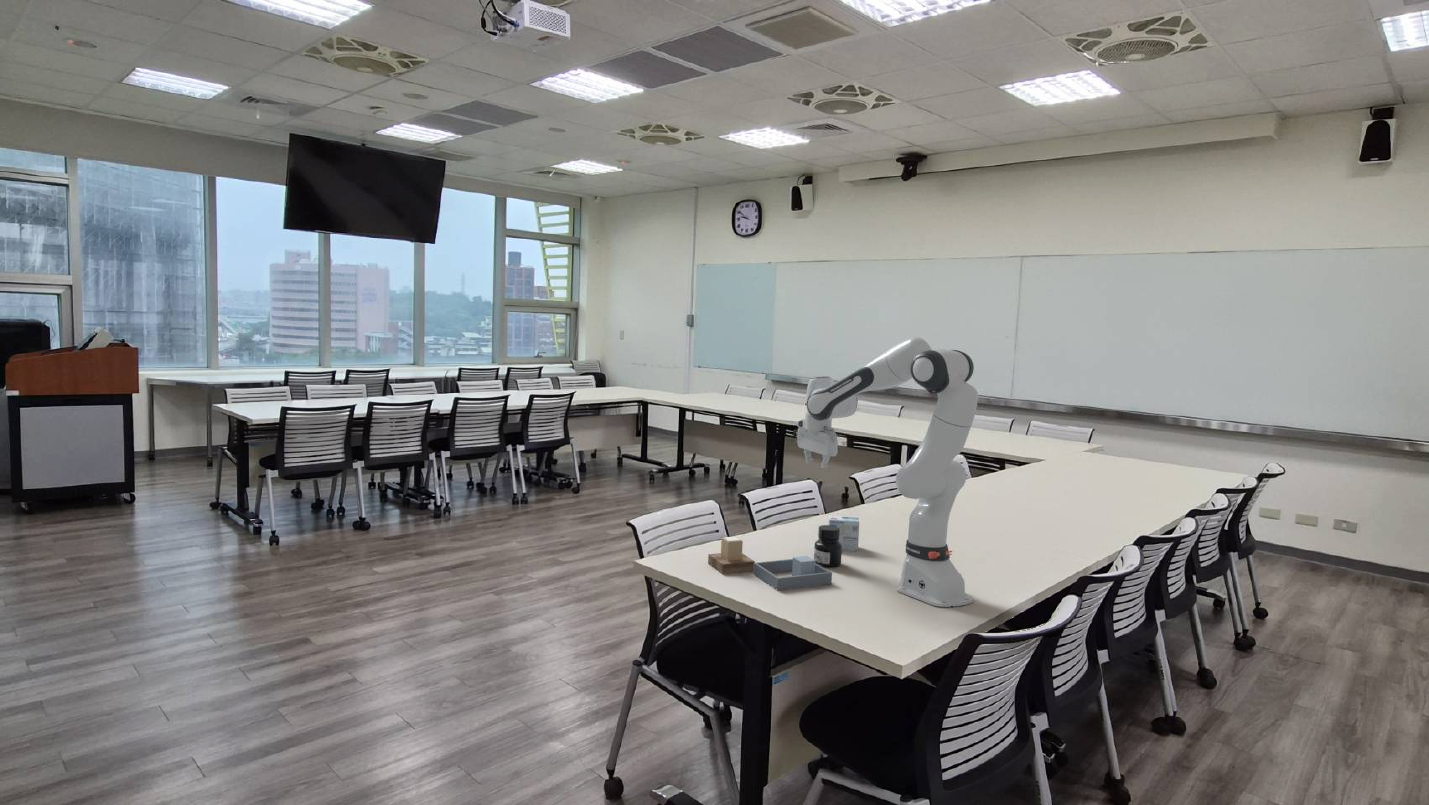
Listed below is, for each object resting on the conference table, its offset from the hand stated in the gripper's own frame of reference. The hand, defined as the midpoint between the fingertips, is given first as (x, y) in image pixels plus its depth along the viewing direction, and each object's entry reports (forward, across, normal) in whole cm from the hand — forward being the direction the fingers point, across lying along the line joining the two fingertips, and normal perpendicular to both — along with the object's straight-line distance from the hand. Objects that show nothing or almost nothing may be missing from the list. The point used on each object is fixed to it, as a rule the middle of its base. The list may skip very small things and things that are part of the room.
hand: (816, 465), depth 263 cm
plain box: (+30, -21, +16) cm, 41 cm away
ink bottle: (+31, -11, +1) cm, 33 cm away
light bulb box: (+31, +2, -14) cm, 34 cm away
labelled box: (+27, -5, +33) cm, 43 cm away
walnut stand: (+30, -5, +33) cm, 45 cm away
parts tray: (+30, -21, +20) cm, 42 cm away
